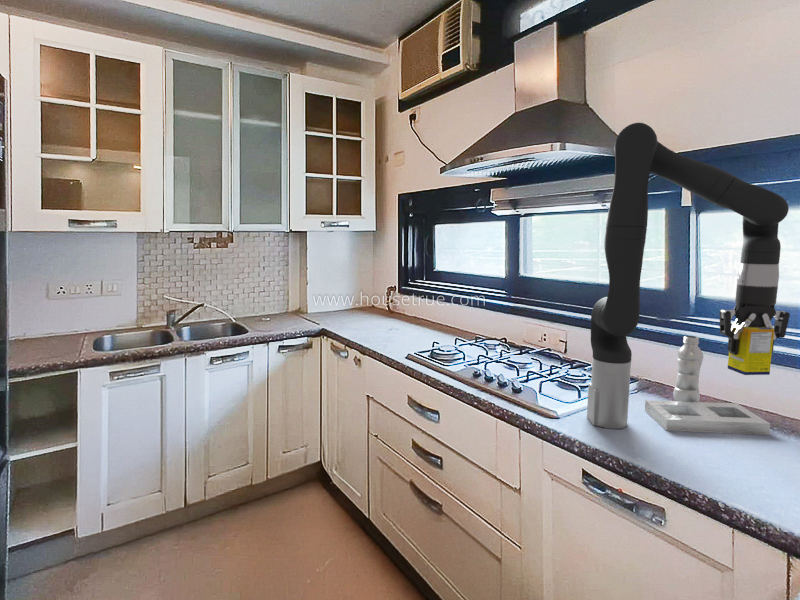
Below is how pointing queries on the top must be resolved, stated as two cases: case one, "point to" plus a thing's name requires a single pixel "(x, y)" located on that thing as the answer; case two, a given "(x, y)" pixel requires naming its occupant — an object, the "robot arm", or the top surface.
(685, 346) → the plastic bottle
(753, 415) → the rail plate
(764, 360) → the supplement box
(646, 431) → the top surface
